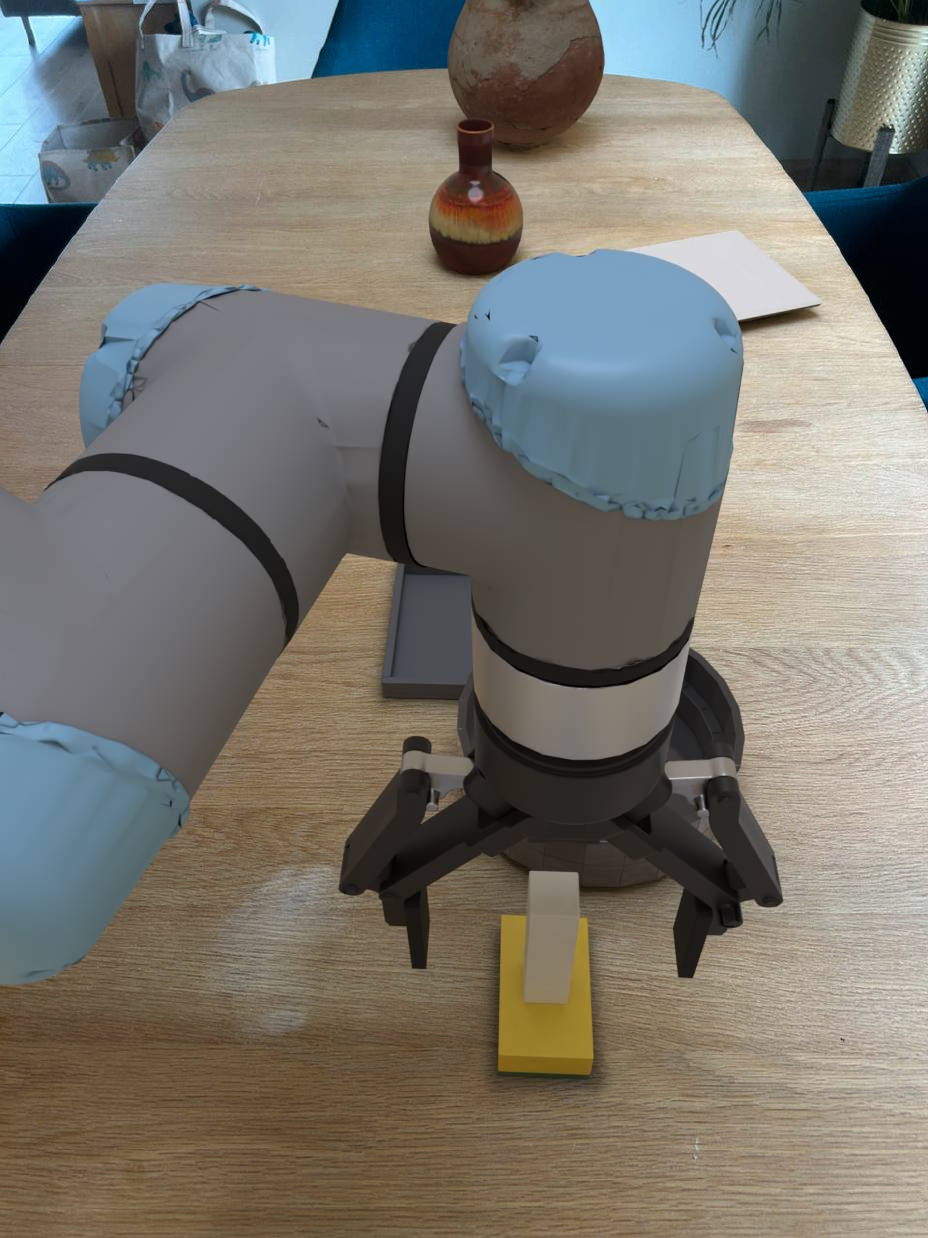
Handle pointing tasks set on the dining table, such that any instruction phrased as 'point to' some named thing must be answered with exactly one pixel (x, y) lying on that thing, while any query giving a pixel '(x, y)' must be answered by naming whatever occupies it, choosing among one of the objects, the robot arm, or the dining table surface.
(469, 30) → the jug
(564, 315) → the robot arm
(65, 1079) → the dining table surface
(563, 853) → the bowl
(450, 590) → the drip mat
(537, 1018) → the sponge brush
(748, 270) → the plate
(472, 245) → the vase
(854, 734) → the dining table surface
